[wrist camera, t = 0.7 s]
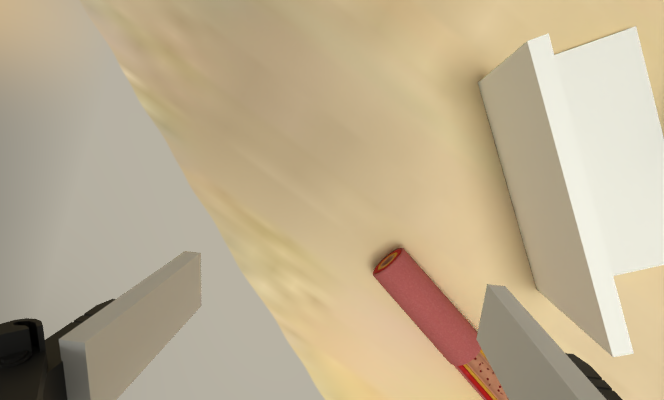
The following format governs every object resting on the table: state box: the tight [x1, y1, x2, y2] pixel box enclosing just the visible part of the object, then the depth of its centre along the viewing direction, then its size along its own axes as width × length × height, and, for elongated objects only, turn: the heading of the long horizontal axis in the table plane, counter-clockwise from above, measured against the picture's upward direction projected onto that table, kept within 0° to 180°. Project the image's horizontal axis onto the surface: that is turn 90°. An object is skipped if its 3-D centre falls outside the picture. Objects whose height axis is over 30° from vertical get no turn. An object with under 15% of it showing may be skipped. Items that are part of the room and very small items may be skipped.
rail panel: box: [478, 26, 664, 357], centre depth 31 cm, size 26×16×14 cm, turn 18°
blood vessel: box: [373, 248, 509, 400], centre depth 40 cm, size 42×5×5 cm, turn 42°
